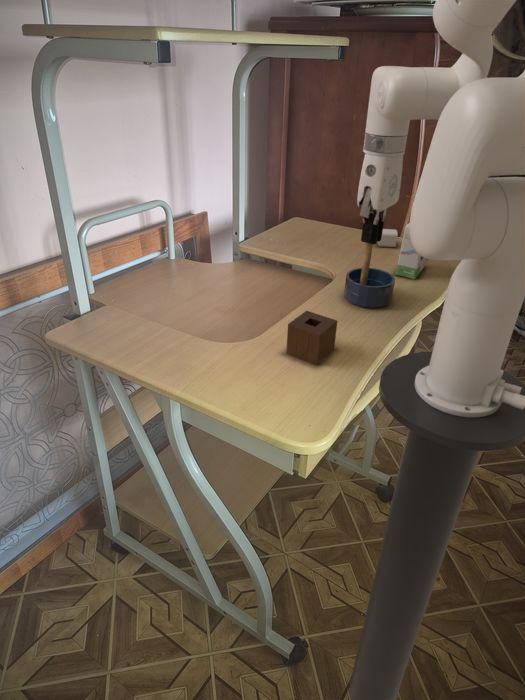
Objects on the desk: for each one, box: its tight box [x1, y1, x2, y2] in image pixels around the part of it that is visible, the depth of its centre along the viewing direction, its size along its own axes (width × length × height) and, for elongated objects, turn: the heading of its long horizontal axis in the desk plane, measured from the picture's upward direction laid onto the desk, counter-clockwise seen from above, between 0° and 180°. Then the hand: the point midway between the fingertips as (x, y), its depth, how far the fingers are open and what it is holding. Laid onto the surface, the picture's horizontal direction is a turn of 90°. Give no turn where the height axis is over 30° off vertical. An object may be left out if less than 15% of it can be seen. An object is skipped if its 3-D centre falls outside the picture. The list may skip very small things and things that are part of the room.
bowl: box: [343, 267, 396, 309], centre depth 105 cm, size 10×10×5 cm
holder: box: [285, 310, 338, 366], centre depth 86 cm, size 6×6×6 cm
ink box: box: [395, 222, 427, 280], centre depth 117 cm, size 9×5×12 cm, turn 150°
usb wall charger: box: [377, 228, 399, 248], centre depth 134 cm, size 4×7×4 cm, turn 84°
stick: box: [360, 213, 374, 285], centre depth 102 cm, size 1×1×16 cm
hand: (371, 240), depth 100 cm, fingers closed on stick, 1 cm apart
